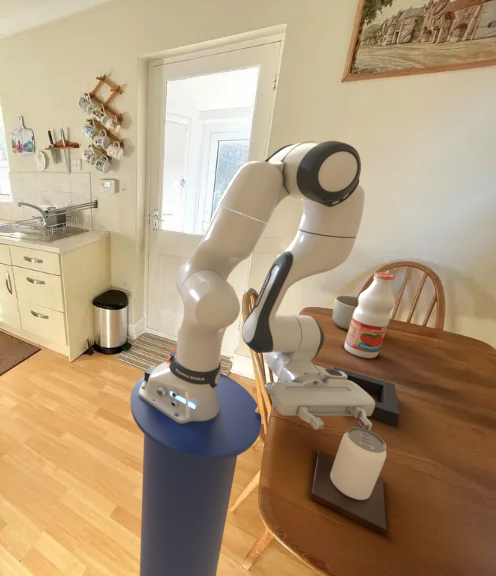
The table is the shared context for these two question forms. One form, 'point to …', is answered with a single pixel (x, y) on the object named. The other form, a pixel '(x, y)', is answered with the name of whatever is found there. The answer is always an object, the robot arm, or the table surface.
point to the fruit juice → (371, 317)
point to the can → (358, 463)
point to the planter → (344, 310)
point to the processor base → (385, 390)
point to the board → (358, 510)
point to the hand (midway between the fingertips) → (343, 427)
